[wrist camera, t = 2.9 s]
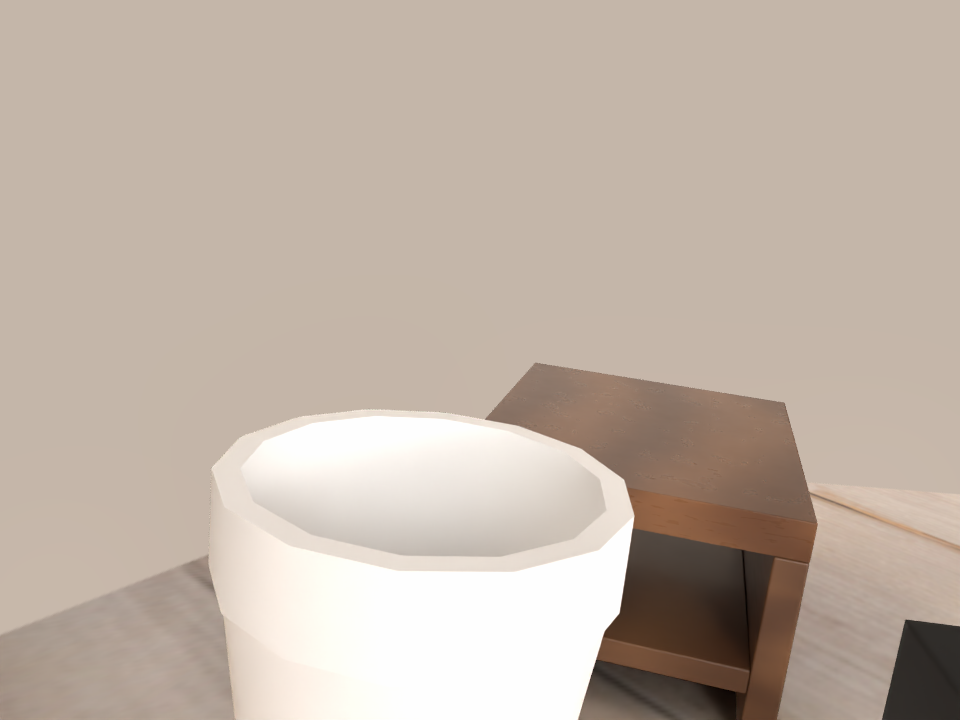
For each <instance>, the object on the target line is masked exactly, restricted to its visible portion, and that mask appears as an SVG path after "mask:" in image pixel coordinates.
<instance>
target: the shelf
mask: <svg viewBox="0 0 960 720" xmlns="http://www.w3.org/2000/svg"><path fill="white" fill-rule="evenodd" d="M485 420H489V421H494V422H500V423H505V424H511V425H516V426H520V427H523V428H525V429H528V430H531V431H534V432H536V433H539V434H542V435H545V436H547V437H550V438H553V439H556V440H558V441H561V442H564V443H567V444H569V445H572V446H575V447H578V448H580V449H582V450H584V451H585V452H586V453H588V454H589V455H590V456H592V457H593V458H595V459H596V460H597V461H599V462H600V463H602V464H603V465H604V466H606V467H607V468H608V469H610V470H611V471H613V472H614V473H615V474H617V475H618V476H620V477H621V478H622V479H624V481H625V484H626V488H627V491H628V495H629V498H630V502H631V505H632V509H633V512H634V522H633V529H632V535H631V542H630V548H629V555H628V561H627V568H626V574H625V581H624V587H623V594H622V600H621V606H620V613H619V614H618V616H617V617H616V618H615V619H614V620H613V622H612V623H611V624H610V625H609V626H608V628H607V629H606V630H605V631H604V635H603V638H602V641H601V645H600V648H599V651H598V655H597V658H596V660H601V661H605V662H609V663H614V664H618V665H622V666H627V667H631V668H635V669H640V670H644V671H648V672H653V673H657V674H661V675H666V676H670V677H674V678H679V679H683V680H687V681H692V682H696V683H700V684H705V685H709V686H713V687H718V688H722V689H726V690H731V691H735V692H736V717H737V720H777V716H778V711H779V706H780V702H781V697H782V692H783V687H784V682H785V678H786V673H787V668H788V663H789V659H790V654H791V649H792V644H793V639H794V635H795V630H796V625H797V620H798V616H799V611H800V606H801V601H802V596H803V592H804V587H805V582H806V577H807V572H808V568H809V562H810V559H811V554H812V550H813V545H814V540H815V535H816V530H817V526H818V524H817V520H816V516H815V513H814V509H813V505H812V502H811V498H810V494H809V491H808V487H807V483H806V480H805V476H804V472H803V469H802V465H801V461H800V458H799V454H798V450H797V447H796V443H795V439H794V436H793V432H792V428H791V425H790V421H789V418H788V414H787V410H786V406H785V403H783V402H776V401H770V400H764V399H757V398H751V397H745V396H739V395H733V394H727V393H720V392H714V391H708V390H701V389H695V388H689V387H683V386H676V385H670V384H664V383H658V382H652V381H645V380H639V379H633V378H627V377H620V376H614V375H608V374H602V373H596V372H589V371H583V370H577V369H571V368H565V367H558V366H552V365H546V364H540V363H535V364H534V365H533V366H532V367H531V368H530V369H529V370H528V372H527V373H526V374H525V375H524V376H523V377H522V378H521V379H520V381H519V382H518V383H517V384H516V385H515V386H514V387H513V388H512V390H511V391H510V392H509V393H508V394H507V395H506V396H505V398H504V399H503V400H502V401H501V402H500V403H499V404H498V405H497V406H496V408H495V409H494V410H493V411H492V412H491V413H490V414H489V415H488V417H487V418H486V419H485Z"/></svg>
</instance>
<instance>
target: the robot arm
mask: <svg viewBox="0 0 960 720" xmlns="http://www.w3.org/2000/svg"><path fill="white" fill-rule="evenodd" d="M882 720H960V626H952V625H944V624H936V623H929V622H921V621H913V620H905V624H904V628H903V632H902V637H901V641H900V645H899V650H898V654H897V658H896V663H895V667H894V671H893V675H892V680H891V684H890V688H889V693H888V697H887V701H886V705H885V710H884V714H883V718H882Z"/></svg>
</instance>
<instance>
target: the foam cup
mask: <svg viewBox="0 0 960 720" xmlns="http://www.w3.org/2000/svg"><path fill="white" fill-rule="evenodd" d="M633 522H634V512H633V509H632V505H631V502H630V498H629V495H628V491H627V488H626V484H625V481H624V479H622V478H621V477H620V476H618V475H617V474H615V473H614V472H613V471H611V470H610V469H608V468H607V467H606V466H604V465H603V464H602V463H600V462H599V461H597V460H596V459H595V458H593V457H592V456H590V455H589V454H588V453H586V452H585V451H584V450H582V449H580V448H578V447H575V446H572V445H569V444H567V443H564V442H561V441H558V440H556V439H553V438H550V437H547V436H545V435H542V434H539V433H536V432H534V431H531V430H528V429H525V428H523V427H520V426H516V425H511V424H505V423H500V422H494V421H489V420H483V419H478V418H473V417H467V416H462V415H456V414H451V413H446V412H423V411H399V410H378V409H377V410H376V409H366V410H357V411H348V412H338V413H329V414H320V415H311V416H301V417H296V418H293V419H291V420H288V421H285V422H282V423H279V424H276V425H273V426H270V427H267V428H265V429H262V430H258V431H255V432H252V433H250V434H247V435H244V436H241V437H240V438H239V439H238V440H237V441H236V442H235V443H234V444H233V445H232V446H231V447H230V449H229V450H228V451H227V452H226V453H225V454H224V455H223V456H222V457H221V458H220V459H219V460H218V461H217V462H216V463H215V464H214V465H213V466H212V467H211V497H210V529H209V562H208V565H209V569H210V573H211V577H212V581H213V585H214V589H215V593H216V597H217V601H218V605H219V609H220V612H221V614H222V615H223V618H224V627H225V636H226V645H227V654H228V663H229V672H230V680H231V689H232V698H233V707H234V716H235V720H578V717H579V714H580V711H581V707H582V704H583V701H584V697H585V694H586V691H587V687H588V684H589V681H590V678H591V674H592V671H593V668H594V664H595V661H596V658H597V655H598V651H599V648H600V645H601V641H602V638H603V635H604V631H605V630H606V629H607V628H608V626H609V625H610V624H611V623H612V622H613V620H614V619H615V618H616V617H617V616H618V614H619V613H620V606H621V600H622V594H623V587H624V581H625V574H626V568H627V561H628V555H629V548H630V542H631V535H632V529H633Z"/></svg>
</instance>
